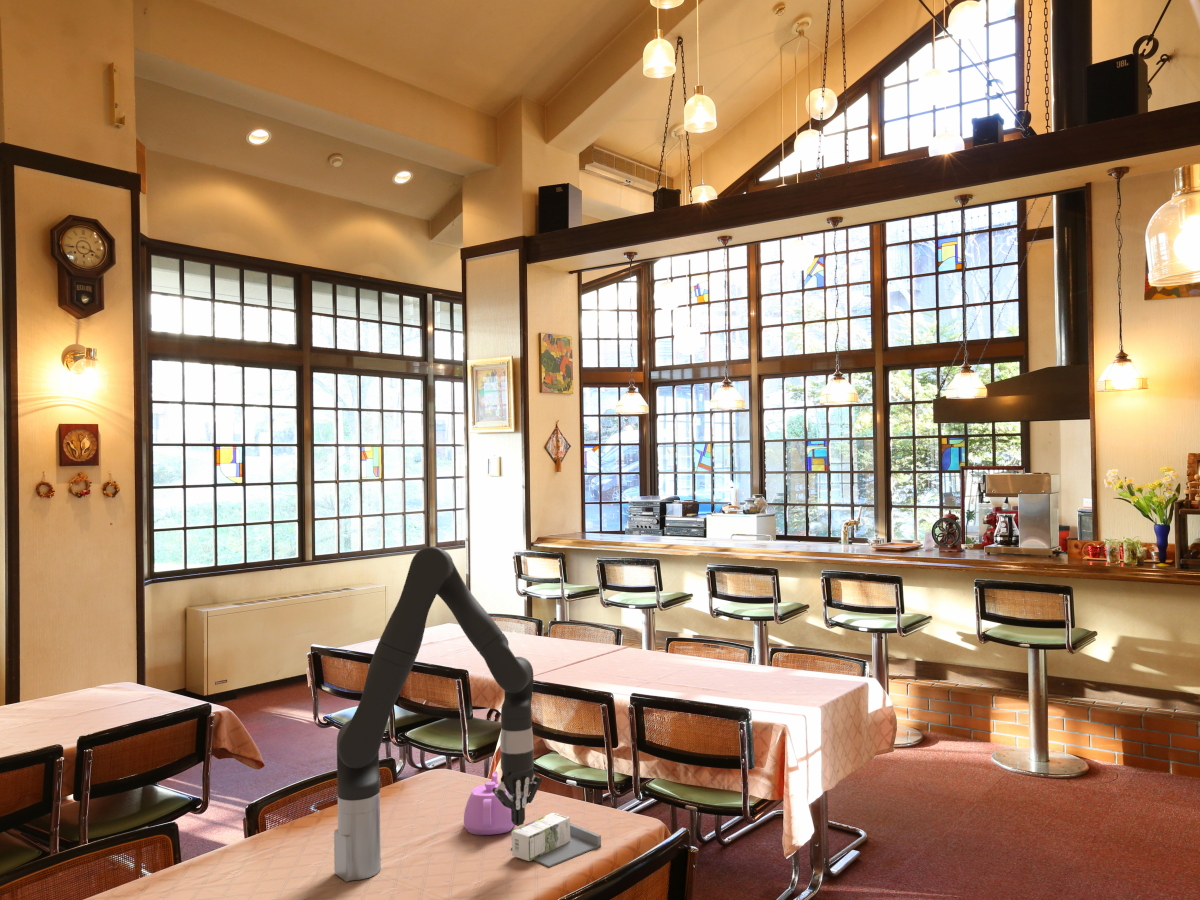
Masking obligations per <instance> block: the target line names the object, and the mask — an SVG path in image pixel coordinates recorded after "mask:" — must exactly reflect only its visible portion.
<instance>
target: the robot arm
mask: <svg viewBox="0 0 1200 900" xmlns="http://www.w3.org/2000/svg"><path fill="white" fill-rule="evenodd" d="M436 596H438V597H439V598H440V599H441V600H442V601H443V602H444V603H445V605H446V606H447V608H448V609H449V610H450V612H451V613H452V614H453V616H454V618H455V621H456V622H457V623H458V625H459V626H460V628H461V629H462V632H463V633H464V634H465V636H466V637H467V639H468V640H469V642H470V643H471V644H472V645H473V647H474V648H475V650H477V652H478V653H479V655H480V656H481V657H482V658H483V659H484V661H485V664H486V666H487V668H488V669H489V672H490V674H491V676H492V678H493V679H494V680H495V682H496V683H497V685H498V686H499V687H500V688H501V689H502V690H503V691H504V698H503V701H502V705H501V709H500V724H501V727H500V728H501V730H500V737H499V738H500V739H499V741H500V744H499V745H500V769H501V772H502V773H501V778H500V783H499V784H500V785H499V786H498V787H497V788H496V787H494V788H493V793H494V794H495V795H496V797H497V798H498V799H499V800H500V802H501V803H502V804H503V805H504V806H505V807H507V808H510V809H511V821H512V823H513V824H514V826H517V827H521V826H523V825H524V823H525V820H526V807H527V804H531V803H532V802H533V800H534V798H535V796H536V795H537V792H538V789H539V788H540V785H541V783H542V781H543V779H542V778H541V777H540V776H537V775H536V774H535V772H534V769H533V768H534V767H535V764H534V763H535V762H534V757H535V756H534V734H533V723H532V721H533V714H532V712H533V711H532V699H533V691H534V669H533V666H532V664H531V662H530V661H529V660H528V659H527V658H525V657H524V656H515V654H514V653H513V652H512V650H511V648H510V647H509V640H508V638H507V637H506V635H505V634H504V633H503V631H502V629H500V627H499V626H498V624H497V623H496V622H495V620H493V618H492V617H491V615H490V614H489V613H488V612H487V611H486V610H485V608H484V607H483V606H482V605H481V604H480V602H479V601H478V600H477V599H476V598H475V596H474V595H473V593H472V592H471V591H470V589H469V588H468V586H467V585H466V583H465V582H464V580H463V579H462V576H461V575H460V573H459V571H458V569H457V567H456V565H455V563H454V561H453V558H452V557H451V555H450V553H448V551H446V550H444V549H443V548H439V547H436V546H427V547H423V548H421V549H419V550H418V551H417V552H415V554H414V555H413V557H412V559H411V561H410V565H409V568H408V571H407V574H406V579H405V581H404V585H403V587H402V591H401V593H400V597H399V599H398V602H397V604H396V605H395V607H394V609H393V612H391V615H390V618H389V619H388V621H387V622H386V626H385V628H384V629H383V632H382V634H381V635H380V639H379V640H378V643H377V644H376V645H377V646H376V648H375V651H374V652H373V656H372V658H371V660H370V663H369V667H368V671H367V674H366V677H365V683H364V685H363V686H364V687H363V690H362V694H361V698H360V700H359V702H358V703H359V704H358V706H357V707H356V710H355V712H354V714H353V716H352V718H350V720H348V721H346V722H345V723H343V725H342V726H341V727H340V729H339V730H338V734H337V735H336V736H337V737H336V783H337V784H336V785H337V787H336V789H337V828H336V829H335V830H334V831H333V839H334V840H333V843H334V844H333V845H334V846H333V847H334V848H333V851H334V853H333V855H334V859H333V861H334V867H333V868H334V874H335V875H336V876H338V877H339V878H341V879H342V880H344V881H345V882H351V881H359V880H365V879H369V878H371V877H373V876H375V875H377V874H378V873H379V872H380V871H381V868H382V867H381V866H382V864H381V861H382V857H381V855H382V854H381V851H382V850H381V849H382V847H381V846H382V845H381V779H380V778H381V777H380V776H381V775H380V752H379V751H380V748H381V746H382V745H381V744H382V742H383V739H384V735H385V731H386V728H387V725H388V722H389V718H390V715H391V712H392V711H393V708H394V706H395V704H396V702H397V700H398V698H399V696H400V694H401V693H402V690H403V688H404V686H405V684H406V682H407V680H408V678H409V676H410V673H411V671H412V669H413V667H414V665H415V661H416V659H417V656H418V654H419V651H420V648H421V645H422V642H423V638H424V633H425V630H426V629H425V628H426V624H427V620H428V615H429V612H430V611H431V607H432V605H433V603H434V600H435V598H436ZM505 789H506V790H507V792H508V796H507V795H506V790H505ZM508 797H509V798H508Z"/></svg>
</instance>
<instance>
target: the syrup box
mask: <svg viewBox="0 0 1200 900" xmlns="http://www.w3.org/2000/svg"><path fill="white" fill-rule="evenodd" d="M570 821H571V818H570V816H567V815H565V814H561V813H556V812H550V813H549V814H546V815H544V816H542V817H539V818H538V819H535V820H533V821H531V822H529V823H526V824H525V825H524V824H523V825H521V826H518V827H517V828H515V829H511V848H512V850H511V855H512V856H513V857H515V858H518V859H521V860H523V861H527V862H531V861H534V860H533V859H535V858H537V857H539V856H541V855H543V854H545V853H547V852H549V851H552V850H554V849H556V848H558V847H560V846H562V845H564V844H566V843H568V842H570V823H571V822H570Z"/></svg>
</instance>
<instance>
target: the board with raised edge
mask: <svg viewBox="0 0 1200 900" xmlns="http://www.w3.org/2000/svg"><path fill="white" fill-rule="evenodd" d="M600 846H601V847H602V834H601V835H600V834H598V833H596V832H593V831H590V830H588V829H587V828H583V827H581V826H579V825H577V824H573V823H571V822H570V842H568V843H566V844H564V845H562V846H560V847H558V848H556V849H554V850H552V851H549V852H547V853H545V854H543V855H541V856H539V857H537V858H535V859H533V860H532V861H535V862H537V863H538V864H540V865H543V866H545V867H547V868H551V867H554V866H557V865H558V864H561V863H563V862H566V861H568V860H571V859H573V858H576V857H579V856H580V855H581V856H582V855H584V854H586V853H588V852H590V850H591V851H593V850H596V849H599V848H600ZM510 850H511V851H512V847H511V848H510ZM585 852H586V853H585ZM578 855H579V856H578Z"/></svg>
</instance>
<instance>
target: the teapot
mask: <svg viewBox="0 0 1200 900" xmlns="http://www.w3.org/2000/svg"><path fill="white" fill-rule="evenodd" d="M498 774H499V773H498V771H493V772H492V775H491V781H486V782H485V783H484V784H481V785H477V786H475V787H474V788H473V789H472V791H471V793H470V795H469V797H468V799H467V801H466V804H465V808H464V812H463V813H464V814H463V825H464V827H465V830H467V832H468V833H470V834H472V835H473V834H474V835H480V836H481V835H482V836H485V835H486V836H490V835H492V836H493V835H501V834H506V833H508V832H510V831H512V830H513V828H514V826H515V825H514V824H513V823H512V821H511V809H510V808H507V807H505V806H504V805H503V804H502V803H501V802H500V800H499V799H498V798H497V797H496V795H495V794H494V793H493V788H494V787H496V788H497V787H498V786H499V785H500V783H499V782H498V781H499V780H498V777H499V776H498ZM505 790H506V789H505ZM506 795H507V796H508V792H507V790H506ZM508 798H509V797H508Z"/></svg>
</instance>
